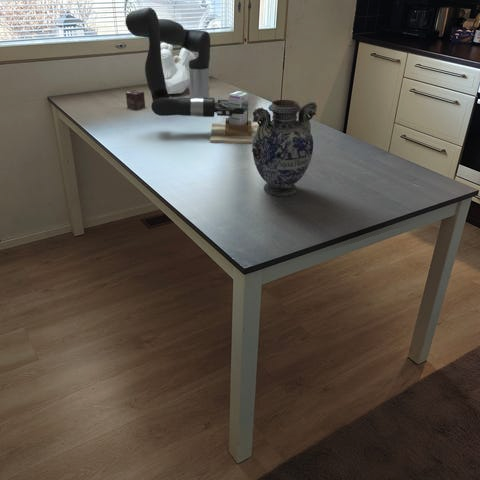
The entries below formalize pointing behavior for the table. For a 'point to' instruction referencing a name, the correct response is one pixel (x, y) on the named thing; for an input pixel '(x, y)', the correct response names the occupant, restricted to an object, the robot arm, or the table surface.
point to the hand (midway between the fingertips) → (243, 108)
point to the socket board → (233, 132)
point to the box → (135, 100)
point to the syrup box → (239, 101)
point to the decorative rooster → (175, 68)
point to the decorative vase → (283, 145)
